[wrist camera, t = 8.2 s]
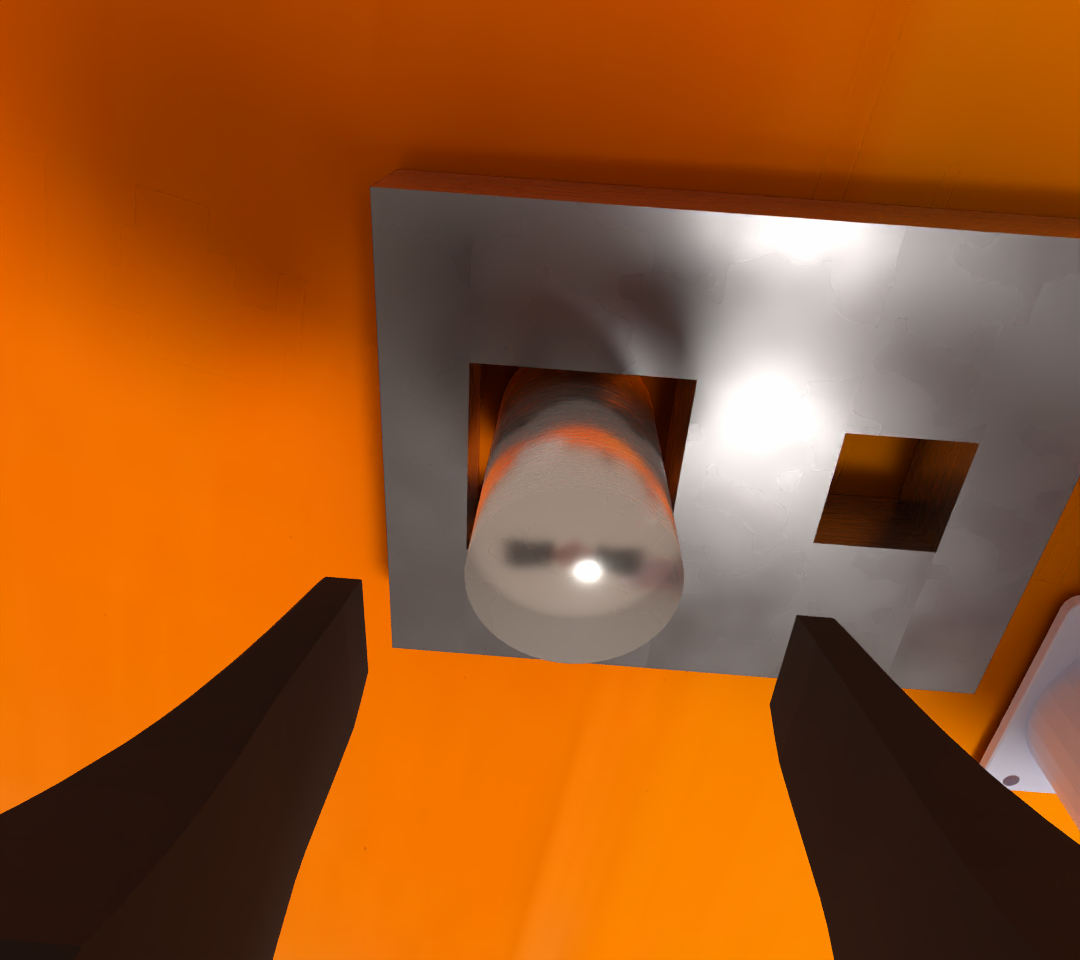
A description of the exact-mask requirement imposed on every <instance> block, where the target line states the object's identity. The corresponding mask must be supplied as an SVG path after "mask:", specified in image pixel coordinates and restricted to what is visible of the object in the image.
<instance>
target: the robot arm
mask: <svg viewBox="0 0 1080 960" xmlns="http://www.w3.org/2000/svg"><path fill="white" fill-rule="evenodd" d="M367 674H368V662H367V647H366V633H365V619H364V605H363V591H362V580H359V579H347V578H335V577H325V578H323V579H322V580H321V581H320V582H318V583H317V584H316V585H315V586H314V587H313V588H312V589H311V590H310V591H309V592H308V593H307V594H306V595H305V596H304V597H303V598H302V599H301V600H300V601H299V602H298V603H296V604H295V605H294V606H293V607H292V608H291V609H290V610H289V611H288V612H287V613H286V614H285V615H284V616H283V617H282V618H281V619H280V620H279V621H278V622H276V623H275V624H274V625H273V626H272V627H271V628H270V629H269V630H268V631H267V632H266V633H265V634H263V635H262V636H261V637H260V638H259V639H258V640H257V641H256V642H255V643H253V644H252V645H251V646H250V647H249V648H248V649H247V650H246V651H245V652H243V653H242V654H241V655H240V656H239V657H238V658H237V659H236V660H234V661H233V662H232V663H231V664H230V665H229V666H227V667H226V668H225V669H224V670H222V671H221V672H220V673H219V674H217V675H216V676H215V677H214V678H213V679H211V680H210V681H209V682H208V683H206V684H205V685H204V686H203V687H202V688H200V689H199V690H198V691H197V692H195V693H194V694H193V695H192V696H190V697H189V698H188V699H187V700H185V701H184V702H183V703H181V704H180V705H179V706H177V707H176V708H175V709H173V710H172V711H171V712H169V713H168V714H166V715H165V716H164V717H162V718H161V719H160V720H158V721H157V722H155V723H154V724H152V725H151V726H149V727H148V728H147V729H145V730H144V731H142V732H141V733H139V734H138V735H136V736H135V737H133V738H132V739H130V740H129V741H127V742H126V743H124V744H123V745H121V746H120V747H118V748H116V749H115V750H113V751H111V752H110V753H108V754H106V755H105V756H103V757H101V758H100V759H98V760H96V761H95V762H93V763H91V764H90V765H88V766H86V767H85V768H83V769H81V770H80V771H78V772H77V773H75V774H73V775H72V776H70V777H68V778H67V779H65V780H63V781H62V782H60V783H58V784H56V785H55V786H53V787H51V788H49V789H47V790H45V791H44V792H42V793H40V794H38V795H36V796H34V797H32V798H31V799H29V800H27V801H25V802H23V803H21V804H20V805H18V806H16V807H14V808H12V809H10V810H8V811H6V812H4V813H2V814H0V960H273V956H274V953H275V949H276V945H277V942H278V938H279V935H280V931H281V928H282V924H283V921H284V918H285V914H286V911H287V907H288V904H289V900H290V897H291V893H292V890H293V886H294V883H295V880H296V877H297V874H298V871H299V868H300V865H301V862H302V859H303V857H304V854H305V851H306V848H307V846H308V843H309V841H310V838H311V836H312V833H313V831H314V828H315V826H316V823H317V820H318V818H319V815H320V813H321V810H322V808H323V805H324V803H325V800H326V798H327V795H328V793H329V790H330V788H331V785H332V782H333V780H334V777H335V775H336V772H337V770H338V767H339V765H340V762H341V759H342V757H343V754H344V752H345V749H346V747H347V744H348V741H349V739H350V736H351V733H352V731H353V728H354V725H355V721H356V717H357V714H358V710H359V706H360V702H361V698H362V694H363V690H364V686H365V682H366V678H367ZM770 709H771V715H772V722H773V728H774V735H775V741H776V746H777V752H778V757H779V763H780V766H781V770H782V773H783V777H784V780H785V784H786V787H787V790H788V794H789V797H790V801H791V804H792V807H793V811H794V814H795V817H796V820H797V824H798V827H799V830H800V833H801V837H802V840H803V843H804V847H805V850H806V853H807V856H808V860H809V863H810V866H811V870H812V873H813V876H814V879H815V883H816V886H817V889H818V892H819V896H820V900H821V903H822V907H823V911H824V915H825V919H826V923H827V926H828V931H829V936H830V941H831V946H832V951H833V956H834V960H1080V845H1079V844H1078V843H1077V842H1075V841H1074V840H1072V839H1071V838H1070V837H1068V836H1067V835H1066V834H1064V833H1063V832H1062V831H1061V830H1059V829H1058V828H1057V827H1055V826H1054V825H1053V824H1051V823H1050V822H1049V821H1047V820H1046V819H1045V818H1044V817H1042V816H1041V815H1040V814H1039V813H1037V812H1036V811H1035V810H1034V809H1032V808H1031V807H1030V806H1029V805H1028V804H1026V803H1025V802H1024V801H1023V800H1021V799H1020V798H1019V797H1018V796H1016V795H1015V794H1014V793H1013V792H1011V791H1010V790H1018V791H1030V792H1043V793H1055V794H1057V796H1058V797H1059V799H1060V800H1061V802H1062V804H1063V805H1064V807H1065V808H1066V810H1067V811H1068V813H1069V814H1070V816H1071V818H1072V819H1073V821H1074V822H1075V824H1076V825H1077V827H1078V829H1079V830H1080V595H1077V596H1074V597H1071V598H1070V599H1068V600H1067V601H1065V603H1064V604H1063V605H1062V606H1061V608H1060V610H1059V612H1058V614H1057V616H1056V618H1055V620H1054V622H1053V623H1052V625H1051V627H1050V629H1049V631H1048V633H1047V635H1046V637H1045V639H1044V641H1043V643H1042V645H1041V646H1040V648H1039V650H1038V652H1037V654H1036V656H1035V658H1034V660H1033V662H1032V664H1031V666H1030V667H1029V669H1028V671H1027V673H1026V675H1025V677H1024V679H1023V681H1022V683H1021V685H1020V687H1019V689H1018V690H1017V692H1016V694H1015V696H1014V698H1013V700H1012V702H1011V704H1010V706H1009V708H1008V710H1007V711H1006V713H1005V715H1004V717H1003V719H1002V721H1001V723H1000V725H999V727H998V729H997V731H996V732H995V734H994V736H993V738H992V740H991V742H990V744H989V746H988V748H987V750H986V752H985V754H984V755H983V757H982V759H981V761H980V763H978V762H977V761H976V760H974V759H973V758H972V757H971V756H970V755H969V754H968V753H967V752H966V751H965V750H964V749H962V748H961V747H960V746H959V745H958V744H957V743H956V742H955V741H954V740H953V739H952V738H950V737H949V736H948V735H947V734H946V733H945V732H944V731H943V730H942V729H941V728H940V727H939V726H938V725H937V724H936V723H935V722H934V721H933V720H932V719H931V718H930V717H929V716H928V715H927V714H926V713H925V712H924V711H923V710H922V709H921V708H920V707H919V706H918V705H917V704H916V703H915V702H914V701H913V700H912V699H911V698H910V697H909V696H908V695H907V694H906V693H905V692H904V691H903V690H902V689H901V688H900V687H899V686H898V685H897V684H896V683H895V682H894V681H893V680H892V679H891V678H890V676H889V675H888V674H887V673H886V672H885V671H884V670H883V669H882V668H881V667H880V666H879V665H878V664H877V663H876V662H875V661H874V660H873V658H872V657H871V656H870V655H869V654H868V653H867V652H866V651H865V650H864V649H863V648H862V647H861V646H860V645H859V643H858V642H857V641H856V640H855V639H854V638H853V637H852V636H851V635H850V634H849V633H848V632H847V631H846V630H845V629H844V628H843V627H842V626H841V625H840V624H839V623H838V622H837V621H836V620H835V619H834V618H829V617H817V616H804V615H796V618H795V622H794V625H793V628H792V632H791V635H790V639H789V642H788V645H787V649H786V652H785V655H784V659H783V662H782V665H781V669H780V672H779V675H778V679H777V682H776V685H775V689H774V692H773V695H772V699H771V702H770Z"/></svg>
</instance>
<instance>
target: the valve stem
mask: <svg viewBox="0 0 1080 960" xmlns="http://www.w3.org/2000/svg"><path fill="white" fill-rule="evenodd" d="M464 579H465V586H466V591H467V595H468V598H469V601H470V603H471V605H472V607H473V610H474V611H475V613H476V615H477V616H478V618H479V619H480V621H481V622H482V623H483V624H484V625H485V626H486V628H487V629H488V630H489V631H490V632H492V633H493V634H494V635H495V636H496V637H497V638H498V639H500V640H501V641H503V642H504V643H506V644H507V645H509V646H511V647H512V648H514V649H516V650H518V651H520V652H522V653H525V654H527V655H530V656H533V657H536V658H539V659H543V660H547V661H553V662H559V663H592V662H599V661H604V660H609V659H612V658H616V657H619V656H622V655H624V654H627V653H629V652H631V651H633V650H635V649H637V648H639V647H640V646H642V645H644V644H645V643H647V642H648V641H649V640H651V639H652V638H654V637H655V636H656V635H657V634H658V633H659V632H660V631H661V630H662V629H663V628H664V627H665V626H666V624H667V623H668V622H669V621H670V619H671V618H672V616H673V614H674V613H675V611H676V609H677V607H678V604H679V602H680V599H681V596H682V592H683V587H684V569H683V561H682V556H681V551H680V546H679V541H678V536H677V531H676V526H675V520H674V515H673V510H672V505H671V500H670V495H669V490H668V485H667V480H666V474H665V469H664V464H663V459H662V454H661V449H660V444H659V439H658V433H657V428H656V423H655V418H654V413H653V408H652V403H651V399H650V395H649V392H648V390H647V387H646V385H645V383H644V382H643V380H642V378H641V377H640V376H639V375H626V374H613V373H600V372H586V371H573V370H560V369H547V368H533V367H520V368H519V369H518V370H517V371H516V372H515V374H514V375H513V376H512V378H511V379H510V381H509V383H508V385H507V386H506V388H505V391H504V394H503V397H502V401H501V405H500V410H499V414H498V419H497V423H496V428H495V432H494V437H493V441H492V446H491V450H490V455H489V459H488V464H487V468H486V473H485V477H484V482H483V486H482V491H481V495H480V500H479V504H478V509H477V513H476V518H475V522H474V527H473V531H472V535H471V540H470V544H469V549H468V553H467V558H466V563H465V576H464Z"/></svg>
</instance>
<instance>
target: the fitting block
mask: <svg viewBox="0 0 1080 960" xmlns="http://www.w3.org/2000/svg"><path fill="white" fill-rule="evenodd" d="M370 195H371V216H372V236H373V257H374V278H375V298H376V319H377V339H378V360H379V380H380V401H381V422H382V442H383V463H384V483H385V504H386V525H387V545H388V566H389V586H390V607H391V627H392V648H404V649H417V650H429V651H442V652H454V653H467V654H480V655H492V656H505V657H517V658H530V659H539V658H536V657H533V656H530V655H527V654H525V653H522V652H520V651H518V650H516V649H514V648H512V647H511V646H509V645H507V644H506V643H504V642H503V641H501V640H500V639H498V638H497V637H496V636H495V635H494V634H493V633H492V632H490V631H489V630H488V629H487V628H486V626H485V625H484V624H483V623H482V622H481V621H480V619H479V618H478V616H477V615H476V613H475V611H474V610H473V607H472V605H471V603H470V601H469V598H468V595H467V591H466V586H465V579H464V576H465V563H466V558H467V553H468V549H469V544H470V540H471V535H472V531H473V527H474V522H475V518H476V513H477V509H478V504H479V500H480V498H478V479H479V437H480V395H481V364H494V365H507V366H520V367H533V368H547V369H560V370H573V371H586V372H600V373H613V374H626V375H639V376H653V377H666V378H678V379H677V385H676V391H675V397H674V403H673V409H672V415H671V422H670V428H669V434H668V440H667V446H666V452H665V458H664V469H665V474H666V480H667V485H668V490H669V495H670V500H671V505H672V510H673V515H674V520H675V526H676V531H677V536H678V541H679V546H680V551H681V556H682V561H683V569H684V587H683V592H682V596H681V599H680V602H679V604H678V607H677V609H676V611H675V613H674V614H673V616H672V618H671V619H670V621H669V622H668V623H667V624H666V626H665V627H664V628H663V629H662V630H661V631H660V632H659V633H658V634H657V635H656V636H655V637H654V638H652V639H651V640H649V641H648V642H647V643H645V644H644V645H642V646H640V647H639V648H637V649H635V650H633V651H631V652H629V653H627V654H624V655H622V656H619V657H616V658H612V659H609V660H604V661H599V662H592V663H593V664H605V665H618V666H631V667H643V668H656V669H668V670H681V671H693V672H706V673H719V674H731V675H744V676H756V677H769V678H778V675H779V672H780V669H781V665H782V662H783V659H784V655H785V652H786V649H787V645H788V642H789V639H790V635H791V632H792V628H793V625H794V622H795V618H796V615H804V616H817V617H829V618H834V619H835V620H836V621H837V622H838V623H839V624H840V625H841V626H842V627H843V628H844V629H845V630H846V631H847V632H848V633H849V634H850V635H851V636H852V637H853V638H854V639H855V640H856V641H857V642H858V643H859V645H860V646H861V647H862V648H863V649H864V650H865V651H866V652H867V653H868V654H869V655H870V656H871V657H872V658H873V660H874V661H875V662H876V663H877V664H878V665H879V666H880V667H881V668H882V669H883V670H884V671H885V672H886V673H887V674H888V675H889V676H890V678H891V679H892V680H893V681H894V682H895V683H896V684H897V685H898V686H899V687H900V688H907V689H920V690H932V691H945V692H958V693H970V694H974V693H975V691H976V689H977V687H978V685H979V683H980V681H981V679H982V677H983V675H984V673H985V671H986V669H987V667H988V665H989V663H990V660H991V658H992V656H993V654H994V652H995V650H996V648H997V646H998V644H999V642H1000V640H1001V638H1002V636H1003V634H1004V632H1005V630H1006V627H1007V625H1008V623H1009V621H1010V619H1011V617H1012V615H1013V613H1014V611H1015V609H1016V607H1017V605H1018V603H1019V601H1020V599H1021V597H1022V594H1023V592H1024V590H1025V588H1026V586H1027V584H1028V582H1029V580H1030V578H1031V576H1032V574H1033V572H1034V570H1035V568H1036V566H1037V564H1038V561H1039V559H1040V557H1041V555H1042V553H1043V551H1044V549H1045V547H1046V545H1047V543H1048V541H1049V539H1050V537H1051V535H1052V533H1053V531H1054V528H1055V526H1056V524H1057V522H1058V520H1059V518H1060V516H1061V514H1062V512H1063V510H1064V508H1065V506H1066V504H1067V502H1068V500H1069V498H1070V495H1071V493H1072V491H1073V489H1074V487H1075V485H1076V483H1077V481H1078V479H1079V477H1080V219H1075V218H1061V217H1048V216H1034V215H1020V214H1006V213H993V212H979V211H965V210H952V209H938V208H924V207H910V206H897V205H883V204H869V203H856V202H842V201H828V200H815V199H801V198H787V197H773V196H760V195H746V194H732V193H719V192H705V191H691V190H677V189H664V188H650V187H636V186H623V185H609V184H595V183H582V182H568V181H554V180H540V179H527V178H513V177H499V176H486V175H472V174H458V173H444V172H431V171H417V170H403V169H396V170H395V171H393V172H392V173H390V174H389V175H387V176H386V177H384V178H383V179H381V180H380V181H378V182H377V183H375V184H374V185H372V186H370ZM845 433H851V434H864V435H877V436H890V437H904V438H917V439H920V440H919V443H918V446H917V449H916V451H915V454H914V457H913V460H912V463H911V466H910V468H909V471H908V474H907V477H906V480H905V483H904V485H903V488H902V491H901V494H900V497H899V499H888V498H875V497H862V496H849V495H836V494H828V491H829V488H830V484H831V481H832V477H833V474H834V471H835V467H836V464H837V460H838V457H839V454H840V450H841V447H842V444H843V440H844V437H845ZM542 660H543V659H542Z"/></svg>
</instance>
